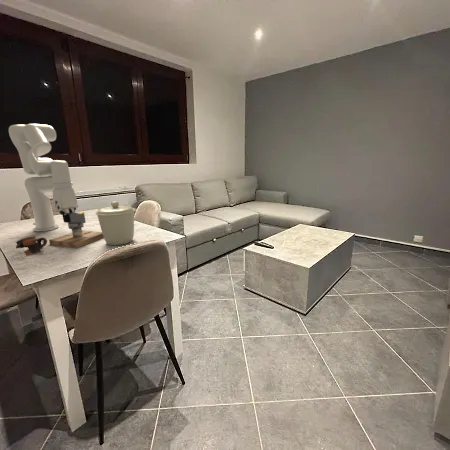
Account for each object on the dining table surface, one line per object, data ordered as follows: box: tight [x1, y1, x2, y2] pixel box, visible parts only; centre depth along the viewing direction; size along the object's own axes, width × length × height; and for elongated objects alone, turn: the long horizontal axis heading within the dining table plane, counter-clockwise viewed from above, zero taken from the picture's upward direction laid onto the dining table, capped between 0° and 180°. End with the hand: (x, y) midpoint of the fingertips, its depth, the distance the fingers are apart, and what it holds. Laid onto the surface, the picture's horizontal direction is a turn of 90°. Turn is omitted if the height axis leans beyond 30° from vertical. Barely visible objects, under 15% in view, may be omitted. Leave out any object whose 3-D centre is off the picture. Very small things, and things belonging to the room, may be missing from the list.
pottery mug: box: [15, 236, 48, 256], centre depth 116 cm, size 12×10×8 cm
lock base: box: [48, 227, 104, 249], centre depth 130 cm, size 18×18×7 cm
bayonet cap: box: [67, 211, 86, 230], centre depth 128 cm, size 11×7×8 cm, turn 72°
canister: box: [95, 200, 136, 246], centre depth 124 cm, size 18×18×21 cm
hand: (69, 221), depth 129 cm, fingers closed on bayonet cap, 2 cm apart
